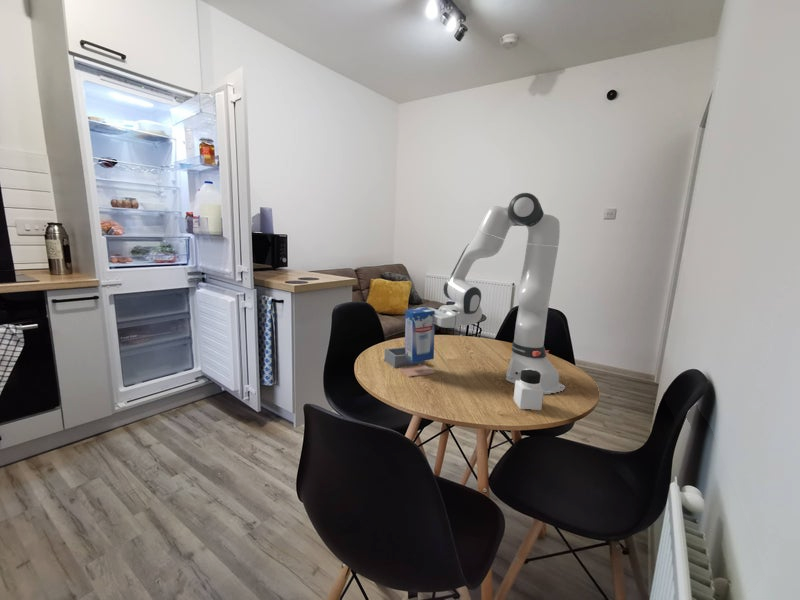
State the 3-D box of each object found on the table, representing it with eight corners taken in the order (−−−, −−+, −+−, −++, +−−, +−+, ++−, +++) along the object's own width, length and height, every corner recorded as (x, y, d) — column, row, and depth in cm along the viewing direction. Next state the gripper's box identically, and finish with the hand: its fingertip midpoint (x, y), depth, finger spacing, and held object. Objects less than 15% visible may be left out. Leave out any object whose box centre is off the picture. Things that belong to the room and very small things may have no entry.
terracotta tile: (435, 373, 139) (435, 371, 139) (408, 377, 133) (409, 375, 133) (423, 365, 147) (423, 364, 147) (398, 369, 141) (398, 367, 141)
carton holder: (423, 364, 149) (424, 353, 148) (394, 368, 142) (395, 356, 141) (412, 356, 157) (412, 346, 156) (384, 360, 151) (384, 349, 150)
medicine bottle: (541, 410, 112) (546, 375, 110) (519, 409, 112) (523, 374, 110) (533, 400, 119) (538, 367, 117) (512, 399, 119) (516, 366, 117)
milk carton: (425, 353, 145) (426, 307, 141) (433, 358, 139) (435, 310, 135) (404, 357, 140) (405, 310, 136) (412, 363, 135) (412, 313, 131)
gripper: (433, 303, 151) (405, 304, 144) (462, 313, 133) (432, 315, 127) (432, 317, 152) (404, 319, 146) (461, 329, 134) (430, 332, 128)
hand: (417, 317), depth 136 cm, fingers closed on milk carton
